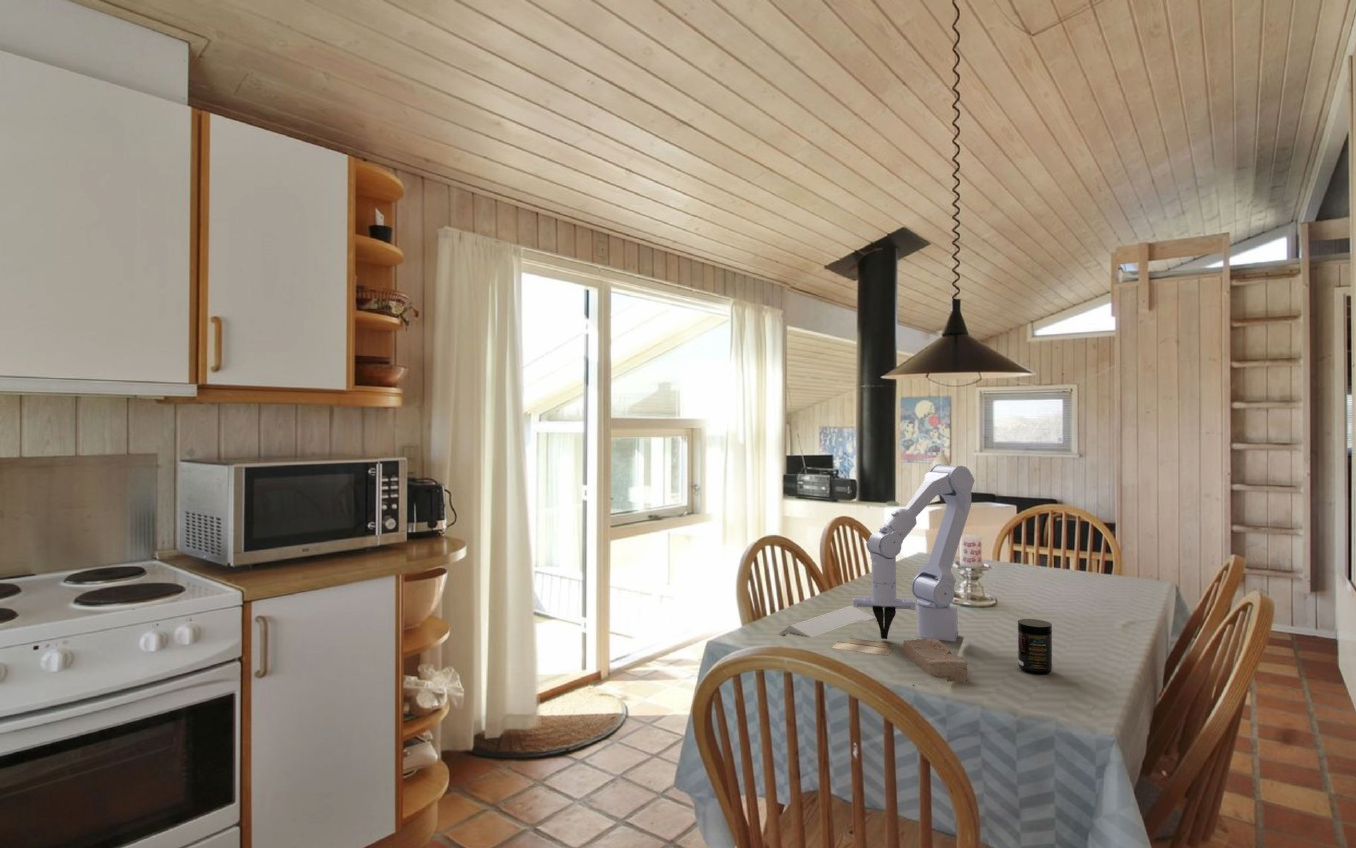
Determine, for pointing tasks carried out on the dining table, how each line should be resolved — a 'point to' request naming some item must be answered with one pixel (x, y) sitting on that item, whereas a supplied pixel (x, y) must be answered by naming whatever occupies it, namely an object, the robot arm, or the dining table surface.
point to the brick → (936, 659)
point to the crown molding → (828, 622)
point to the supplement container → (1035, 646)
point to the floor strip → (862, 648)
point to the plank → (869, 642)
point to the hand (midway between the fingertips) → (884, 637)
